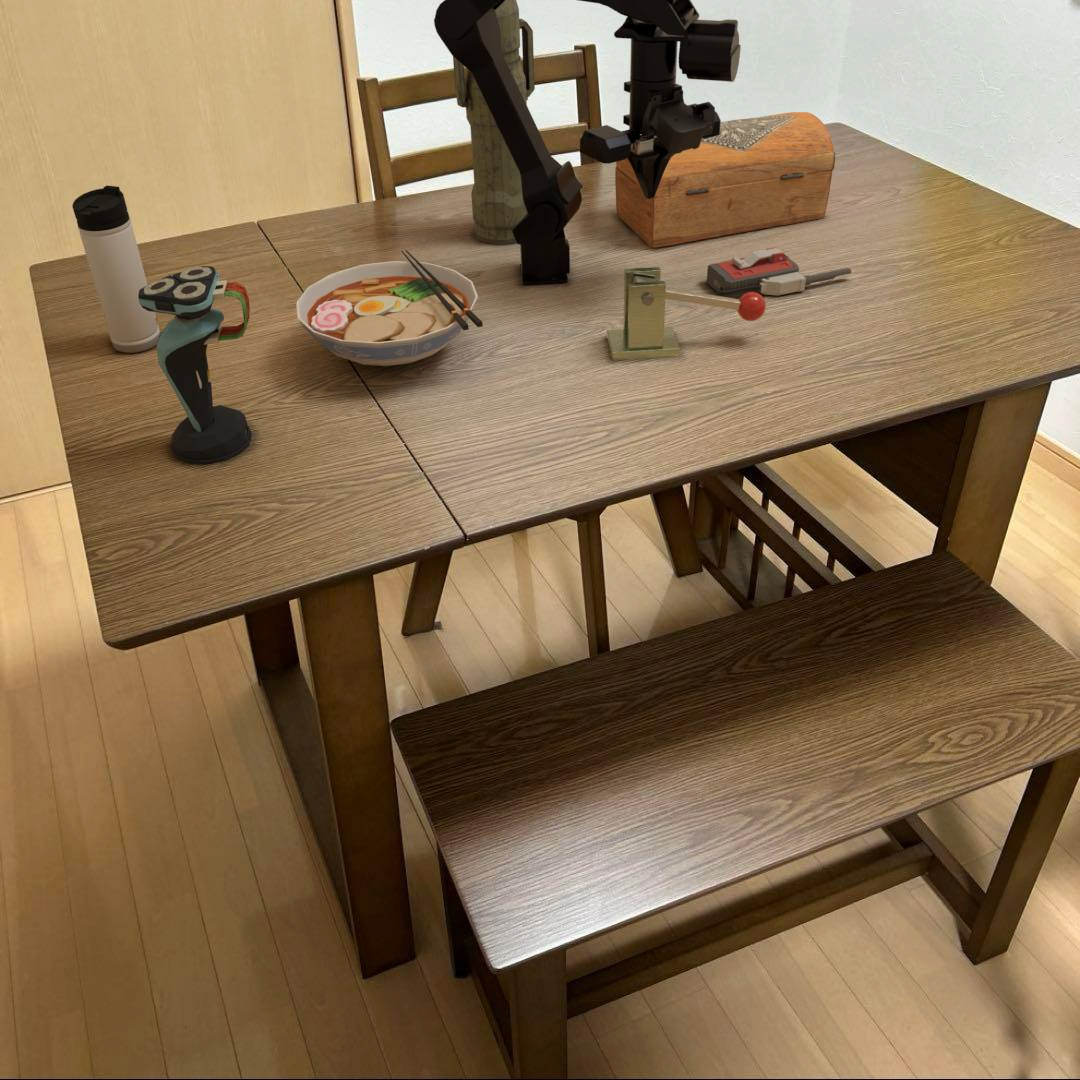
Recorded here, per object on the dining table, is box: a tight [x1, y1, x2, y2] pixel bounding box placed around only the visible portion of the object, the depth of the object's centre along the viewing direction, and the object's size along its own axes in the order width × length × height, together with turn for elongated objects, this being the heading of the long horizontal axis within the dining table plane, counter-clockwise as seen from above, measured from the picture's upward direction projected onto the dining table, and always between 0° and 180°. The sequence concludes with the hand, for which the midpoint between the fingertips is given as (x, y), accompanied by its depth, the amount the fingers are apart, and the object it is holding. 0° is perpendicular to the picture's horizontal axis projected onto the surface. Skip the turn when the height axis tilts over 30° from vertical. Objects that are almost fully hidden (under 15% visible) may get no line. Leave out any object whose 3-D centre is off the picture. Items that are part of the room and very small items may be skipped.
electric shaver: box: [138, 265, 253, 465], centre depth 124 cm, size 9×12×20 cm
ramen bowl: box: [295, 249, 483, 367], centre depth 143 cm, size 25×23×8 cm
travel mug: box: [71, 185, 161, 354], centre depth 143 cm, size 6×7×20 cm
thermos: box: [452, 0, 536, 245], centre depth 164 cm, size 9×12×35 cm
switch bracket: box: [606, 266, 681, 361], centre depth 141 cm, size 8×6×10 cm
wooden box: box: [614, 111, 836, 248], centre depth 173 cm, size 30×16×14 cm, turn 109°
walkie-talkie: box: [706, 247, 852, 299], centre depth 157 cm, size 9×4×20 cm
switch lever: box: [633, 276, 767, 322], centre depth 141 cm, size 17×4×4 cm, turn 95°
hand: (649, 197), depth 150 cm, fingers closed
